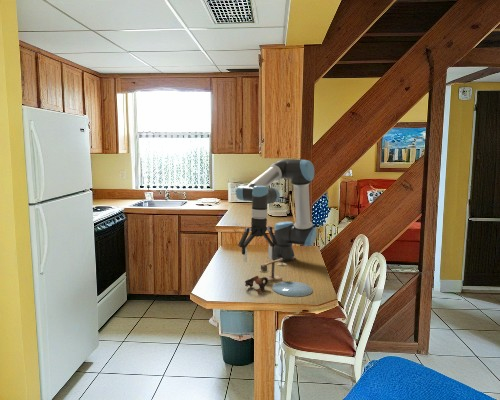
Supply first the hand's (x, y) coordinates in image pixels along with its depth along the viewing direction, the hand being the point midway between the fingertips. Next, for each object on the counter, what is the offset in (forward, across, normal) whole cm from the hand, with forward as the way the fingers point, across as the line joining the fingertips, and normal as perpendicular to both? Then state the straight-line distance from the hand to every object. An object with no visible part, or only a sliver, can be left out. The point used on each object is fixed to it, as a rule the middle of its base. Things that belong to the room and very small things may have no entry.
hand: (257, 259), depth 202 cm
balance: (+15, -14, -10) cm, 23 cm away
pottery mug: (+16, 0, +1) cm, 16 cm away
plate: (+15, -17, +6) cm, 24 cm away
